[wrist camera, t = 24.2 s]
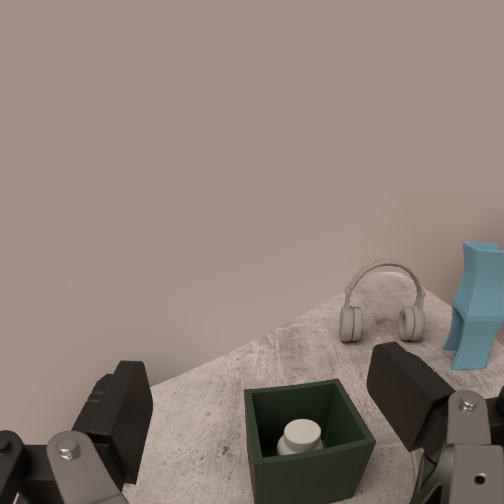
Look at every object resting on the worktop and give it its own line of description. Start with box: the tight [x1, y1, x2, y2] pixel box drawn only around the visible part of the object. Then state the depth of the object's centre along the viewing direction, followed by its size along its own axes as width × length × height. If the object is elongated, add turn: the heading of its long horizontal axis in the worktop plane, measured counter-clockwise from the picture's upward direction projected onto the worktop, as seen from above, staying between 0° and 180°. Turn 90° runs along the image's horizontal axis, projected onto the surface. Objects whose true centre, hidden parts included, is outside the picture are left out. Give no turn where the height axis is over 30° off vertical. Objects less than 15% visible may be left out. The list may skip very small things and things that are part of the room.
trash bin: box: [244, 379, 376, 504], centre depth 28 cm, size 12×12×12 cm
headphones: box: [339, 259, 426, 342], centre depth 61 cm, size 20×8×19 cm, turn 77°
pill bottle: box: [276, 419, 323, 456], centre depth 28 cm, size 5×5×9 cm
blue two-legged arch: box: [442, 242, 504, 370], centre depth 46 cm, size 10×10×25 cm
